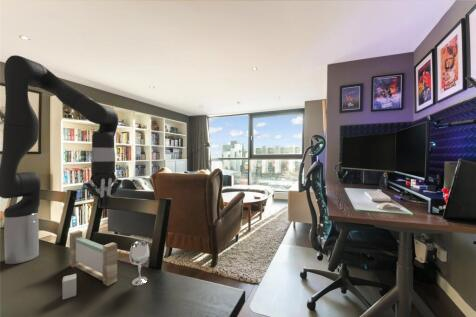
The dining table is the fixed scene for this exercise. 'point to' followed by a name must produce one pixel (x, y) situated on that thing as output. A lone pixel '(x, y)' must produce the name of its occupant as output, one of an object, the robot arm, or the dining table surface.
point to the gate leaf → (89, 254)
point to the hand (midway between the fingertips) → (103, 206)
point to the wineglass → (139, 258)
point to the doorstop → (69, 286)
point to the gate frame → (108, 260)
